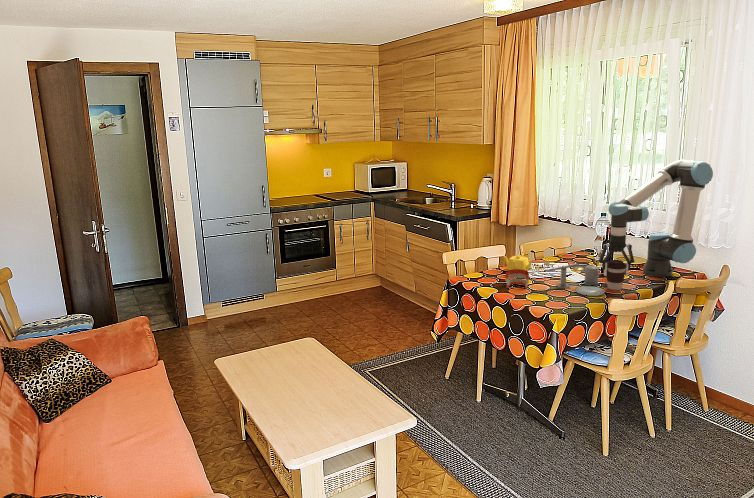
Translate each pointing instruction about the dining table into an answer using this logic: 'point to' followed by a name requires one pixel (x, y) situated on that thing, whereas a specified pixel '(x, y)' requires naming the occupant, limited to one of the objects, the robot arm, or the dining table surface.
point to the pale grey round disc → (590, 291)
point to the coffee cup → (615, 274)
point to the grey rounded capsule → (591, 275)
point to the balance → (563, 273)
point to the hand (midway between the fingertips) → (615, 275)
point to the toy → (516, 274)
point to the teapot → (518, 262)
